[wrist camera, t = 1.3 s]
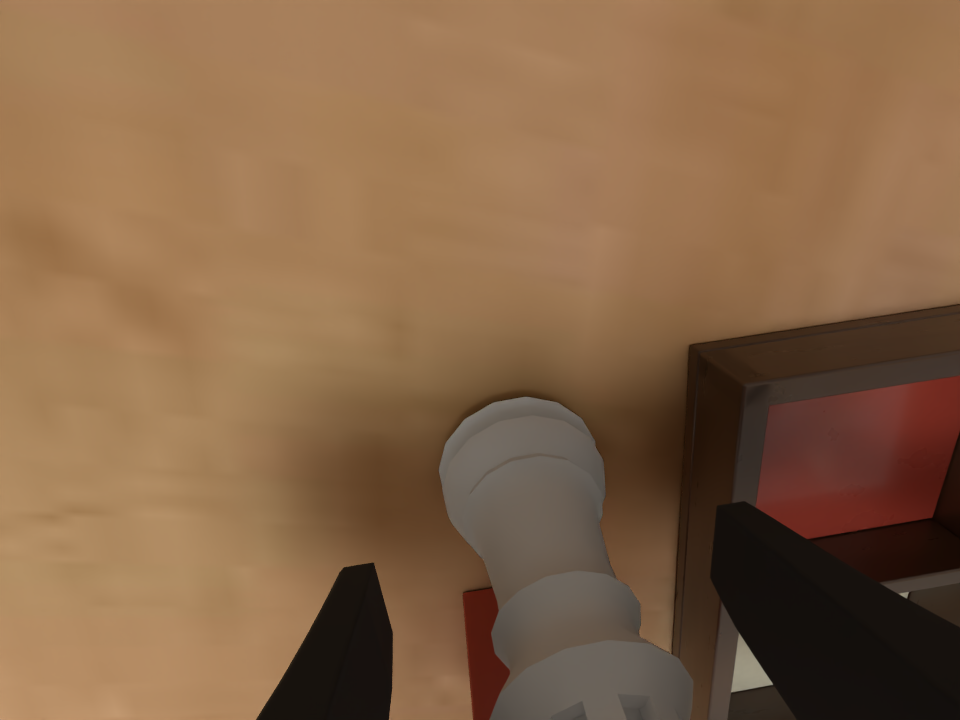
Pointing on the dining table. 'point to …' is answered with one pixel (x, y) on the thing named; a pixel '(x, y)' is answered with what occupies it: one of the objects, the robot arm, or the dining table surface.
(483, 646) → the brick-red block
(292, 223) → the dining table surface
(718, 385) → the tray
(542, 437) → the rook chess piece
